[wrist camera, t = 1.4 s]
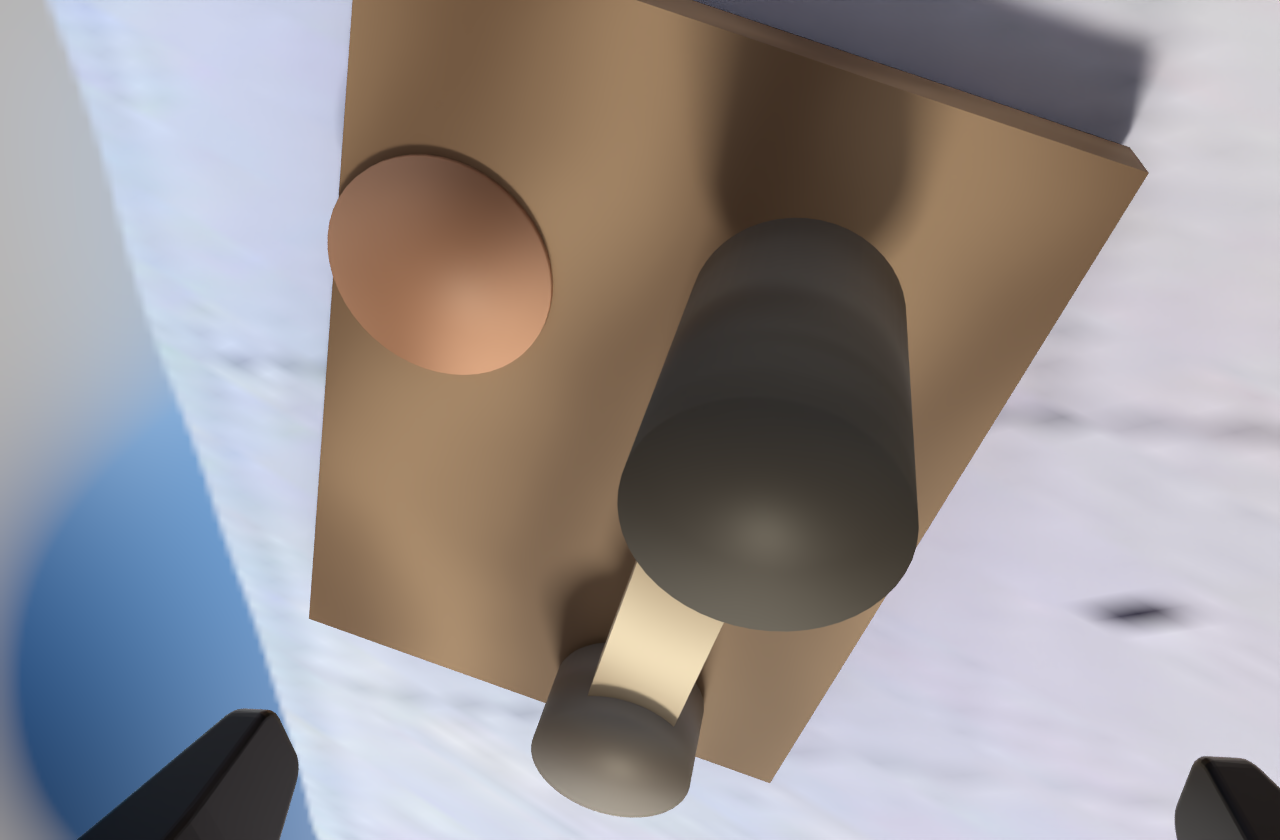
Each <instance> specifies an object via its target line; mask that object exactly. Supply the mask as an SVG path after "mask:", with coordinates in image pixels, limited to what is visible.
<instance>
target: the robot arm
mask: <svg viewBox="0 0 1280 840" xmlns="http://www.w3.org/2000/svg"><path fill="white" fill-rule="evenodd" d="M297 777H298V758H297V755H296V752H295V750H294V748H293V746H292V744H291V742H290V740H289V738H288V736H287V734H286V731H285V729H284V727H283V725H282V723H281V721H280V719H279V717H278V716H277V714H276V713H274V712H273V711H271V710H262V709H237V710H235V711H233V712H231V713H229V714H228V715H226V716H225V717H224V718H223V719H221V720H220V721H219V722H218V723H216V724H215V725H214V726H213V727H212V728H210V729H209V730H208V731H207V732H206V733H205V734H203V735H202V736H201V737H200V738H199V739H197V740H196V741H195V742H194V743H192V744H191V745H190V746H189V747H188V748H186V749H185V750H184V751H183V752H182V753H180V754H179V755H178V756H177V757H176V758H174V759H173V760H172V761H171V762H170V763H168V764H167V765H166V766H165V767H164V768H162V769H161V770H160V771H159V772H158V773H156V774H155V775H154V776H153V777H152V778H150V779H149V780H148V781H147V782H146V783H144V784H143V785H142V786H141V787H140V788H138V789H137V790H136V791H135V792H134V793H132V794H131V795H130V796H129V797H128V798H127V799H125V800H124V801H123V802H122V803H120V804H119V805H118V806H117V807H116V808H114V809H113V810H112V811H111V812H110V813H108V814H107V815H106V816H105V817H104V818H102V819H101V820H100V821H99V822H98V823H96V824H95V825H94V826H93V827H92V828H90V829H89V830H88V831H87V832H86V833H84V834H83V835H82V836H81V837H79V838H78V839H77V840H280V836H281V833H282V829H283V826H284V823H285V819H286V815H287V813H288V809H289V806H290V802H291V799H292V795H293V792H294V789H295V785H296V782H297ZM1175 830H1176V836H1177V840H1280V788H1279V787H1278V786H1277V785H1276V784H1275V783H1274V782H1273V781H1272V780H1271V779H1270V778H1269V777H1268V776H1267V775H1266V774H1265V773H1264V772H1263V771H1262V770H1261V769H1260V768H1258V767H1257V766H1256V765H1255V764H1253V763H1251V762H1250V761H1248V760H1246V759H1242V758H1231V757H1211V756H1203V757H1200V758H1199V759H1197V760H1196V761H1195V762H1194V764H1193V765H1192V768H1191V770H1190V773H1189V775H1188V778H1187V780H1186V783H1185V786H1184V788H1183V791H1182V793H1181V796H1180V798H1179V801H1178V803H1177V806H1176V810H1175Z"/></svg>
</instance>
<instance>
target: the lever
mask: <svg viewBox="0 0 1280 840" xmlns="http://www.w3.org/2000/svg"><path fill="white" fill-rule="evenodd" d="M617 507H618V517H619V522H620V526H621V530H622V534H623V536H624V538H625V541H626V543H627V546H628V548H629V549H630V551H631V553H632V555H633V556H634V558H635V560H636V561H635V564H634V567H633V569H632V572H631V575H630V577H629V580H628V583H627V586H626V588H625V591H624V594H623V596H622V599H621V602H620V605H619V607H618V610H617V613H616V615H615V618H614V621H613V624H612V626H611V629H610V632H609V634H608V637H607V640H606V643H597V644H592V645H588V646H585V647H582V648H580V649H578V650H576V651H574V652H573V653H571V654H570V655H569V656H568V657H567V658H566V659H564V661H563V662H562V664H561V665H560V667H559V669H558V672H557V674H556V677H555V680H554V683H553V685H552V688H551V691H550V693H549V696H548V699H547V702H546V704H545V707H544V710H543V712H542V715H541V718H540V721H539V723H538V726H537V729H536V731H535V734H534V737H533V740H532V745H531V753H532V758H533V761H534V763H535V766H536V768H537V769H538V771H539V773H540V774H541V775H542V777H543V778H544V779H545V780H546V781H547V782H548V783H549V784H550V785H551V786H552V787H553V788H554V789H555V790H556V791H558V792H559V793H560V794H562V795H563V796H565V797H566V798H568V799H570V800H571V801H573V802H575V803H577V804H579V805H581V806H584V807H586V808H588V809H591V810H594V811H597V812H600V813H604V814H609V815H614V816H620V817H648V816H653V815H658V814H661V813H664V812H666V811H669V810H671V809H673V808H674V807H675V806H677V805H678V804H679V803H680V802H681V801H682V800H683V799H684V798H685V796H686V795H687V793H688V790H689V787H690V782H691V776H692V771H693V766H694V761H695V755H696V750H697V745H698V740H699V734H700V729H701V724H702V719H703V713H704V701H703V697H702V694H701V691H700V689H699V687H698V686H697V684H696V680H697V678H698V676H699V673H700V671H701V669H702V667H703V665H704V663H705V661H706V659H707V657H708V655H709V652H710V650H711V648H712V646H713V644H714V642H715V640H716V638H717V636H718V634H719V632H720V629H721V627H722V625H723V623H727V624H731V625H734V626H739V627H744V628H749V629H754V630H763V631H784V632H789V631H802V630H810V629H816V628H821V627H826V626H829V625H833V624H836V623H839V622H842V621H845V620H847V619H849V618H852V617H854V616H857V615H858V614H860V613H862V612H864V611H866V610H867V609H869V608H871V607H872V606H874V605H875V604H876V603H878V602H879V601H880V600H882V599H883V598H884V597H885V596H886V595H887V594H888V593H889V592H890V591H891V590H892V589H893V588H894V587H895V586H896V585H897V584H898V582H899V581H900V580H901V578H902V577H903V576H904V574H905V573H906V571H907V569H908V567H909V565H910V563H911V561H912V558H913V555H914V552H915V549H916V546H917V540H918V532H919V521H918V502H917V485H916V469H915V452H914V435H913V418H912V401H911V384H910V368H909V351H908V334H907V317H906V304H905V299H904V294H903V290H902V287H901V285H900V282H899V279H898V277H897V276H896V274H895V272H894V270H893V268H892V267H891V265H890V264H889V263H888V261H887V260H886V259H885V257H884V256H883V255H882V254H881V253H880V252H879V251H878V250H877V249H876V248H875V247H874V246H873V245H872V244H870V243H869V242H868V241H866V240H865V239H864V238H863V237H861V236H859V235H857V234H856V233H854V232H852V231H851V230H849V229H846V228H844V227H841V226H839V225H836V224H833V223H830V222H826V221H822V220H816V219H809V218H784V219H775V220H771V221H767V222H763V223H760V224H757V225H754V226H752V227H749V228H747V229H745V230H743V231H741V232H739V233H737V234H735V235H734V236H732V237H731V238H730V239H728V240H727V241H725V242H724V243H723V244H722V245H721V246H720V247H719V248H718V249H717V250H715V251H714V252H713V254H712V255H711V256H710V257H709V259H708V260H707V261H706V262H705V264H704V266H703V267H702V269H701V271H700V272H699V274H698V277H697V279H696V281H695V284H694V286H693V289H692V291H691V294H690V297H689V299H688V302H687V305H686V307H685V310H684V312H683V315H682V318H681V320H680V323H679V325H678V328H677V331H676V333H675V336H674V339H673V341H672V344H671V346H670V349H669V352H668V354H667V357H666V360H665V362H664V365H663V367H662V370H661V373H660V375H659V378H658V381H657V383H656V386H655V388H654V391H653V394H652V396H651V399H650V402H649V404H648V407H647V409H646V412H645V415H644V417H643V420H642V422H641V425H640V428H639V430H638V433H637V436H636V438H635V441H634V443H633V446H632V449H631V451H630V454H629V457H628V459H627V462H626V464H625V467H624V470H623V472H622V475H621V479H620V484H619V488H618V499H617Z"/></svg>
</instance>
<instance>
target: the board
mask: <svg viewBox="0 0 1280 840" xmlns="http://www.w3.org/2000/svg"><path fill="white" fill-rule="evenodd" d="M1147 175H1148V171H1147V170H1146V169H1145V167H1144V166H1143V165H1142V163H1141V162H1140V161H1139V159H1138V158H1137V157H1136V155H1135V154H1134V153H1133V151H1132V150H1131V149H1130V147H1127V146H1124V145H1121V144H1118V143H1115V142H1112V141H1109V140H1106V139H1103V138H1100V137H1097V136H1094V135H1091V134H1088V133H1085V132H1082V131H1079V130H1076V129H1073V128H1070V127H1067V126H1064V125H1061V124H1058V123H1055V122H1053V121H1050V120H1047V119H1044V118H1041V117H1038V116H1035V115H1032V114H1029V113H1026V112H1023V111H1020V110H1017V109H1014V108H1011V107H1008V106H1005V105H1002V104H999V103H996V102H993V101H990V100H987V99H984V98H981V97H978V96H975V95H972V94H969V93H966V92H963V91H960V90H957V89H955V88H952V87H949V86H946V85H943V84H940V83H937V82H934V81H931V80H928V79H925V78H922V77H919V76H916V75H913V74H910V73H907V72H904V71H901V70H898V69H895V68H892V67H889V66H886V65H883V64H880V63H877V62H874V61H871V60H868V59H865V58H862V57H859V56H857V55H854V54H851V53H848V52H845V51H842V50H839V49H836V48H833V47H830V46H827V45H824V44H821V43H818V42H815V41H812V40H809V39H806V38H803V37H800V36H797V35H794V34H791V33H788V32H785V31H782V30H779V29H776V28H773V27H770V26H767V25H764V24H761V23H758V22H756V21H753V20H750V19H747V18H744V17H741V16H738V15H735V14H732V13H729V12H726V11H723V10H720V9H717V8H714V7H711V6H708V5H705V4H702V3H699V2H696V1H693V0H353V2H352V16H351V31H350V45H349V59H348V73H347V87H346V102H345V116H344V130H343V144H342V158H341V173H340V187H339V198H338V200H337V202H336V205H335V207H334V209H333V212H332V215H331V219H330V222H329V230H328V255H329V262H330V266H331V270H332V274H333V286H332V300H331V314H330V329H329V343H328V357H327V371H326V385H325V400H324V414H323V428H322V442H321V456H320V471H319V485H318V499H317V513H316V527H315V542H314V556H313V570H312V584H311V598H310V612H309V619H312V620H314V621H317V622H320V623H323V624H326V625H328V626H331V627H334V628H337V629H340V630H342V631H345V632H348V633H351V634H354V635H356V636H359V637H362V638H365V639H368V640H370V641H373V642H376V643H379V644H382V645H384V646H387V647H390V648H393V649H396V650H398V651H401V652H404V653H407V654H410V655H412V656H415V657H418V658H421V659H424V660H426V661H429V662H432V663H435V664H438V665H440V666H443V667H446V668H449V669H452V670H454V671H457V672H460V673H463V674H466V675H469V676H471V677H474V678H477V679H480V680H483V681H485V682H488V683H491V684H494V685H497V686H499V687H502V688H505V689H508V690H511V691H513V692H516V693H519V694H522V695H525V696H527V697H530V698H533V699H536V700H539V701H541V702H544V703H546V702H547V699H548V696H549V693H550V691H551V688H552V685H553V683H554V680H555V677H556V674H557V672H558V669H559V667H560V665H561V664H562V662H563V661H564V659H566V658H567V657H568V656H569V655H570V654H571V653H573V652H574V651H576V650H578V649H580V648H582V647H585V646H588V645H592V644H597V643H606V640H607V637H608V634H609V632H610V629H611V626H612V624H613V621H614V618H615V615H616V613H617V610H618V607H619V605H620V602H621V599H622V596H623V594H624V591H625V588H626V586H627V583H628V580H629V577H630V575H631V572H632V569H633V567H634V564H635V561H636V560H635V558H634V556H633V555H632V553H631V551H630V549H629V548H628V546H627V543H626V541H625V538H624V536H623V534H622V530H621V526H620V522H619V517H618V507H617V499H618V488H619V484H620V479H621V475H622V472H623V470H624V467H625V464H626V462H627V459H628V457H629V454H630V451H631V449H632V446H633V443H634V441H635V438H636V436H637V433H638V430H639V428H640V425H641V422H642V420H643V417H644V415H645V412H646V409H647V407H648V404H649V402H650V399H651V396H652V394H653V391H654V388H655V386H656V383H657V381H658V378H659V375H660V373H661V370H662V367H663V365H664V362H665V360H666V357H667V354H668V352H669V349H670V346H671V344H672V341H673V339H674V336H675V333H676V331H677V328H678V325H679V323H680V320H681V318H682V315H683V312H684V310H685V307H686V305H687V302H688V299H689V297H690V294H691V291H692V289H693V286H694V284H695V281H696V279H697V277H698V274H699V272H700V271H701V269H702V267H703V266H704V264H705V262H706V261H707V260H708V259H709V257H710V256H711V255H712V254H713V252H714V251H715V250H717V249H718V248H719V247H720V246H721V245H722V244H723V243H724V242H725V241H727V240H728V239H730V238H731V237H732V236H734V235H735V234H737V233H739V232H741V231H743V230H745V229H747V228H749V227H752V226H754V225H757V224H760V223H763V222H767V221H771V220H775V219H784V218H809V219H816V220H822V221H826V222H830V223H833V224H836V225H839V226H841V227H844V228H846V229H849V230H851V231H852V232H854V233H856V234H857V235H859V236H861V237H863V238H864V239H865V240H866V241H868V242H869V243H870V244H872V245H873V246H874V247H875V248H876V249H877V250H878V251H879V252H880V253H881V254H882V255H883V256H884V257H885V259H886V260H887V261H888V263H889V264H890V265H891V267H892V268H893V270H894V272H895V274H896V276H897V277H898V279H899V282H900V285H901V287H902V290H903V294H904V299H905V304H906V317H907V334H908V351H909V368H910V384H911V401H912V418H913V435H914V452H915V469H916V485H917V502H918V521H919V532H918V540H917V545H918V544H919V542H920V540H921V539H922V537H923V536H924V534H925V532H926V531H927V529H928V528H929V526H930V524H931V523H932V521H933V520H934V518H935V516H936V515H937V513H938V511H939V510H940V508H941V507H942V505H943V503H944V502H945V500H946V499H947V497H948V495H949V494H950V492H951V491H952V489H953V487H954V486H955V484H956V482H957V481H958V479H959V478H960V476H961V474H962V473H963V471H964V470H965V468H966V466H967V465H968V463H969V462H970V460H971V458H972V457H973V455H974V453H975V452H976V450H977V449H978V447H979V445H980V444H981V442H982V441H983V439H984V437H985V436H986V434H987V433H988V431H989V429H990V428H991V426H992V424H993V423H994V421H995V420H996V418H997V416H998V415H999V413H1000V412H1001V410H1002V408H1003V407H1004V405H1005V404H1006V402H1007V400H1008V399H1009V397H1010V396H1011V394H1012V392H1013V391H1014V389H1015V387H1016V386H1017V384H1018V383H1019V381H1020V379H1021V378H1022V376H1023V375H1024V373H1025V371H1026V370H1027V368H1028V367H1029V365H1030V363H1031V362H1032V360H1033V358H1034V357H1035V355H1036V354H1037V352H1038V350H1039V349H1040V347H1041V346H1042V344H1043V342H1044V341H1045V339H1046V338H1047V336H1048V334H1049V333H1050V331H1051V329H1052V328H1053V326H1054V325H1055V323H1056V321H1057V320H1058V318H1059V317H1060V315H1061V313H1062V312H1063V310H1064V309H1065V307H1066V305H1067V304H1068V302H1069V300H1070V299H1071V297H1072V296H1073V294H1074V292H1075V291H1076V289H1077V288H1078V286H1079V284H1080V283H1081V281H1082V280H1083V278H1084V276H1085V275H1086V273H1087V271H1088V270H1089V268H1090V267H1091V265H1092V263H1093V262H1094V260H1095V259H1096V257H1097V255H1098V254H1099V252H1100V251H1101V249H1102V247H1103V246H1104V244H1105V242H1106V241H1107V239H1108V238H1109V236H1110V234H1111V233H1112V231H1113V230H1114V228H1115V226H1116V225H1117V223H1118V222H1119V220H1120V218H1121V217H1122V215H1123V213H1124V212H1125V210H1126V209H1127V207H1128V205H1129V204H1130V202H1131V201H1132V199H1133V197H1134V196H1135V194H1136V193H1137V191H1138V189H1139V188H1140V186H1141V184H1142V183H1143V181H1144V180H1145V178H1146V176H1147ZM916 547H917V546H916ZM885 597H886V596H885ZM885 597H884V598H885ZM884 598H883V599H882V600H880V601H879V602H878V603H876V604H875V605H874V606H872V607H871V608H869V609H867V610H866V611H864V612H862V613H860V614H858V615H857V616H854V617H852V618H849V619H847V620H845V621H842V622H839V623H836V624H833V625H829V626H826V627H821V628H816V629H810V630H802V631H789V632H784V631H763V630H754V629H749V628H744V627H739V626H734V625H731V624H727V623H723V625H722V627H721V629H720V632H719V634H718V636H717V638H716V640H715V642H714V644H713V646H712V648H711V650H710V652H709V655H708V657H707V659H706V661H705V663H704V665H703V667H702V669H701V671H700V673H699V676H698V678H697V680H696V684H697V686H698V687H699V689H700V691H701V694H702V697H703V701H704V713H703V719H702V724H701V729H700V734H699V740H698V745H697V750H696V755H695V757H698V758H701V759H704V760H707V761H709V762H712V763H715V764H718V765H721V766H723V767H726V768H729V769H732V770H735V771H737V772H740V773H743V774H746V775H749V776H751V777H754V778H757V779H760V780H763V781H765V782H768V783H770V782H771V781H772V779H773V777H774V776H775V774H776V772H777V771H778V769H779V768H780V766H781V764H782V763H783V761H784V760H785V758H786V756H787V755H788V753H789V752H790V750H791V748H792V747H793V745H794V743H795V742H796V740H797V739H798V737H799V735H800V734H801V732H802V731H803V729H804V727H805V726H806V724H807V723H808V721H809V719H810V718H811V716H812V714H813V713H814V711H815V710H816V708H817V706H818V705H819V703H820V702H821V700H822V698H823V697H824V695H825V694H826V692H827V690H828V689H829V687H830V685H831V684H832V682H833V681H834V679H835V677H836V676H837V674H838V673H839V671H840V669H841V668H842V666H843V665H844V663H845V661H846V660H847V658H848V656H849V655H850V653H851V652H852V650H853V648H854V647H855V645H856V644H857V642H858V640H859V639H860V637H861V636H862V634H863V632H864V631H865V629H866V627H867V626H868V624H869V623H870V621H871V619H872V618H873V616H874V615H875V613H876V611H877V610H878V608H879V607H880V605H881V603H882V602H883V600H884Z"/></svg>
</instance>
